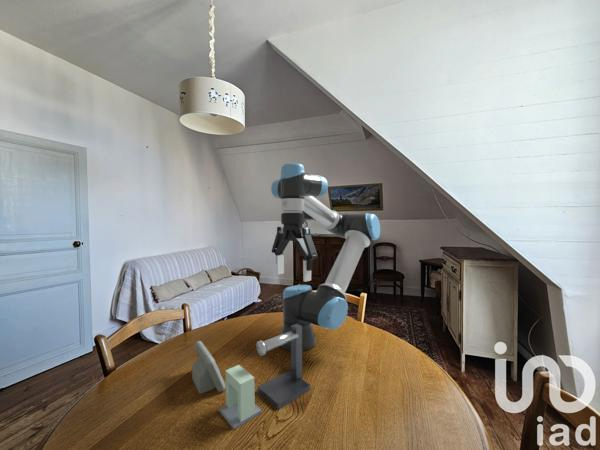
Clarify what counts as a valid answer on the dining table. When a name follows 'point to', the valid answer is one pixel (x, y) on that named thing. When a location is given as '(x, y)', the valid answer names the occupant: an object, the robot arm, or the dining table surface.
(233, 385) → the bracket
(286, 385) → the stand
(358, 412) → the dining table surface
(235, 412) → the coaster
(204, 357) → the digital clock
